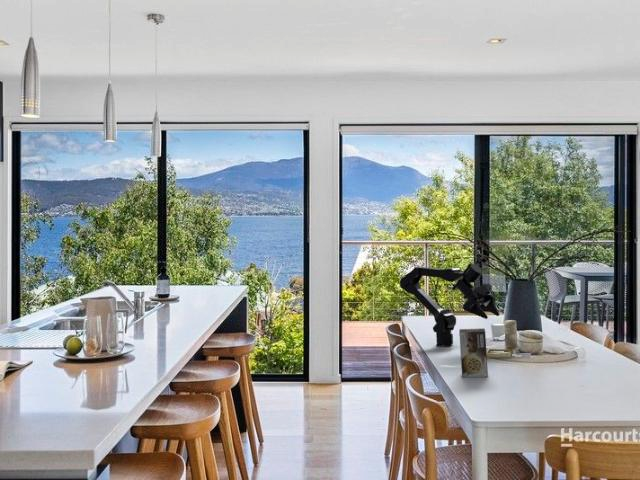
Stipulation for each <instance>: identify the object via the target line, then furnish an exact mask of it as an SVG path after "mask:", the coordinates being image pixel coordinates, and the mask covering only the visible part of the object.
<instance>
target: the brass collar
mask: <svg viewBox="0 0 640 480" xmlns="http://www.w3.org/2000/svg"><path fill="white" fill-rule="evenodd" d="M486 351H487V357H501V358H500V359H512V358H511V356H512V354H513V349H487V350H486ZM490 351H504V352H509V353H490Z"/></svg>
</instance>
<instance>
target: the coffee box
mask: <svg viewBox="0 0 640 480" xmlns="http://www.w3.org/2000/svg"><path fill="white" fill-rule="evenodd" d="M458 335H459V351H460V363H461V364H460V365H461V367H460V368H461V377H462V378H483V377H484V378H488V377H489V371H488V370H489V369H488V358H487V351H486V346H487V337H486V329H485V328H482V327H481V328H460V329H459V334H458Z"/></svg>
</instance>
